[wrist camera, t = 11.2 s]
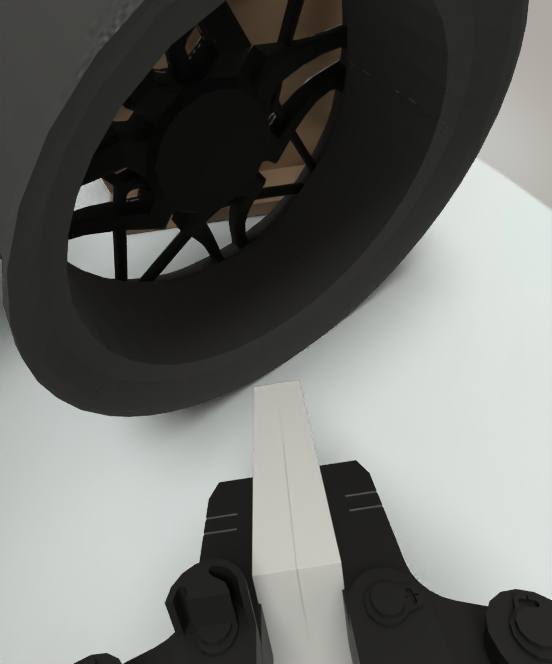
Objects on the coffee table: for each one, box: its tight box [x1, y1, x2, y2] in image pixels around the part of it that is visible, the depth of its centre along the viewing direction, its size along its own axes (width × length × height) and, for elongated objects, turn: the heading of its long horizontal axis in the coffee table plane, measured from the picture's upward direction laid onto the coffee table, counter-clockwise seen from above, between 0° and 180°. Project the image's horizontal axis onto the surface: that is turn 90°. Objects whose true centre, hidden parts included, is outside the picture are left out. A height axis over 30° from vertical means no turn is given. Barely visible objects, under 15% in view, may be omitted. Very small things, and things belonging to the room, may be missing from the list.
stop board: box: [102, 0, 342, 235], centre depth 24 cm, size 18×7×14 cm, turn 97°
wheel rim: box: [0, 0, 529, 417], centre depth 17 cm, size 20×9×20 cm, turn 126°
